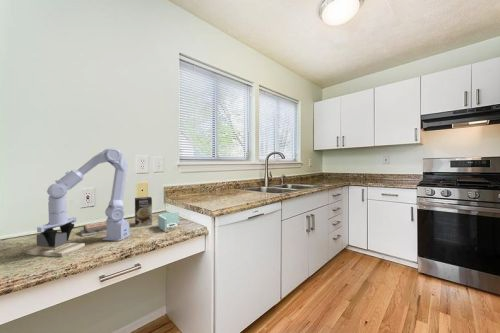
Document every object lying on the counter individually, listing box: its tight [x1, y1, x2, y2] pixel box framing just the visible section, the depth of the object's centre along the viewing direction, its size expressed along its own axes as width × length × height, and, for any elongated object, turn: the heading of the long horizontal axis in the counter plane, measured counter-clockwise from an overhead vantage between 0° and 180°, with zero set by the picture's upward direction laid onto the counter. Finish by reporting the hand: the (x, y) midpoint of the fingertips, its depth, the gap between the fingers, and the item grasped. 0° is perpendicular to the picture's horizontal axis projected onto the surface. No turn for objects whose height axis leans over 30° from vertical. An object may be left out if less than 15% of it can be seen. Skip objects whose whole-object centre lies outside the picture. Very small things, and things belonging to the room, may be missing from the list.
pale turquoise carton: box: [157, 211, 180, 233], centre depth 124 cm, size 12×12×8 cm
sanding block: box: [36, 231, 68, 250], centre depth 92 cm, size 9×5×6 cm, turn 82°
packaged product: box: [79, 221, 107, 238], centre depth 118 cm, size 18×5×10 cm
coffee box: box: [134, 196, 153, 228], centre depth 128 cm, size 9×6×16 cm
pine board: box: [23, 241, 86, 258], centre depth 92 cm, size 18×10×2 cm, turn 82°
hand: (58, 243), depth 92 cm, fingers open, 5 cm apart
